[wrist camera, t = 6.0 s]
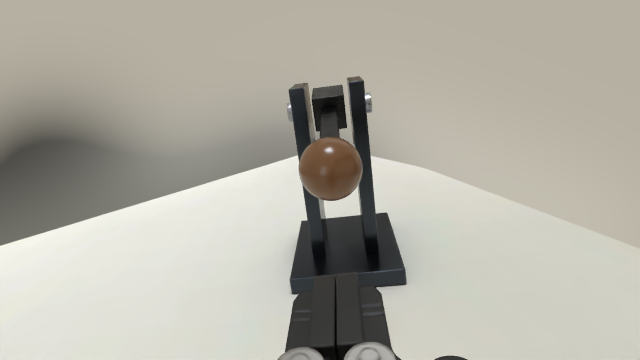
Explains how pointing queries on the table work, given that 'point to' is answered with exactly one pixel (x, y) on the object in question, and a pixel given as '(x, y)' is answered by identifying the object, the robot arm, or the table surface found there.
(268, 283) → the table surface
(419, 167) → the table surface
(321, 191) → the lever
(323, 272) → the bracket
